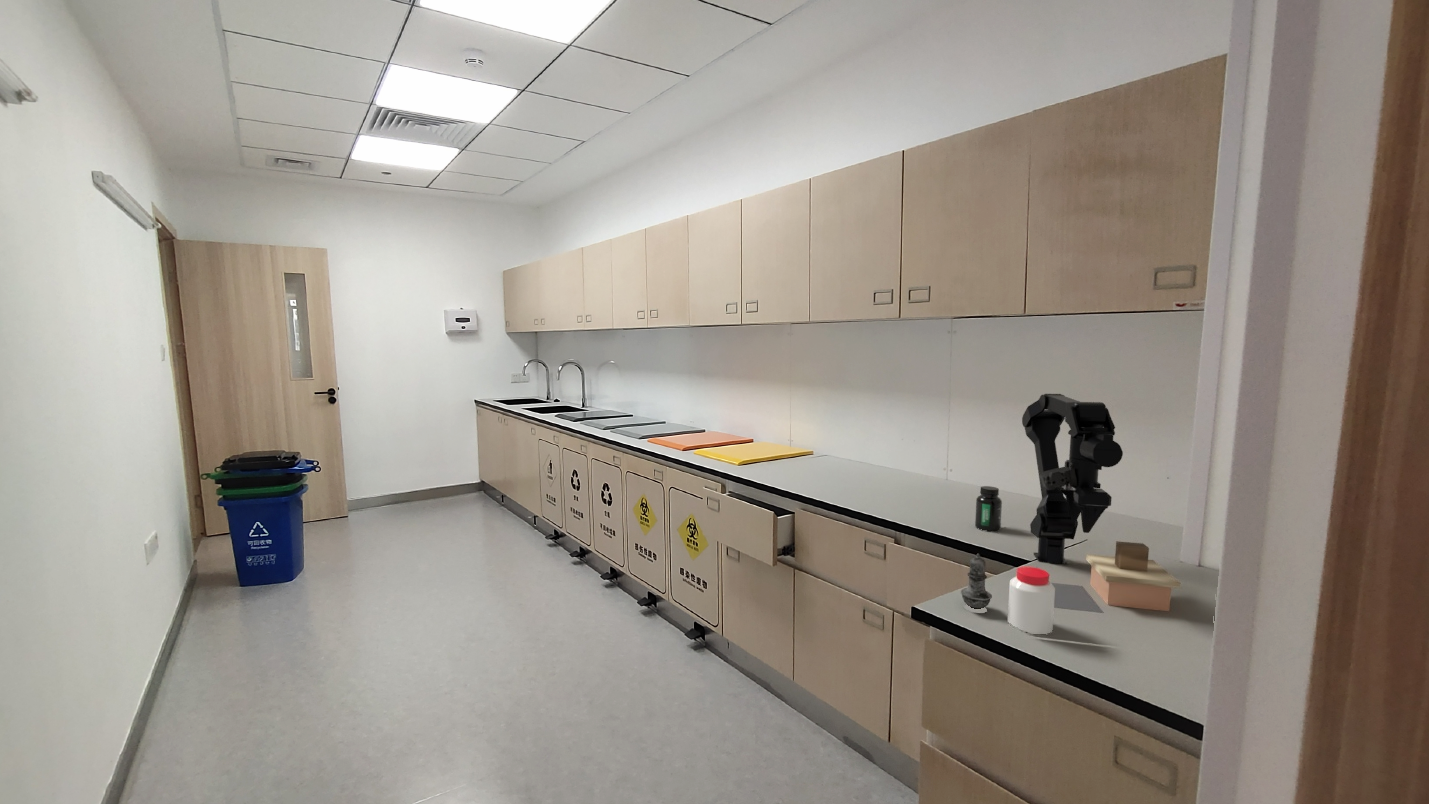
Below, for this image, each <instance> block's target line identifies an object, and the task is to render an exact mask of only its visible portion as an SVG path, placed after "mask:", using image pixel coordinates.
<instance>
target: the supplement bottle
mask: <svg viewBox="0 0 1429 804" xmlns="http://www.w3.org/2000/svg"><path fill="white" fill-rule="evenodd" d="M999 496H1000V491H999V488H998V487H996V486H990V485H984V486H980V492H979V495H978V496H977V497H976V499H975V517H974V518H975V519H974V520H975V521H974V525H975V526H974V527H975V528H976V529H978V528H979V529H978V530H980V529H982V530H981V531H983V530H987V531H986V532H991V531H994V532H999V531H1000V530H1001V525H1002V509H1003V501H1002V499H1001V498H1000V497H999ZM998 530H999V531H998Z"/></svg>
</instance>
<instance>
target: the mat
mask: <svg viewBox="0 0 1429 804" xmlns="http://www.w3.org/2000/svg"><path fill="white" fill-rule="evenodd" d="M1050 583H1051V584H1052V585H1053V586H1054V587H1055V602H1054V609H1064V610H1074V611H1083V612H1084V611H1085V612H1090V613H1091V612H1092V613H1093V612H1094V613H1101V614H1104V611H1103V610H1102V608H1100V606H1099V605H1098V603H1097V602H1096V601H1095V600H1094V598H1092V596H1091V595H1090V593H1089V592H1088V591H1087V589H1086V588H1085V587H1084V586H1083V585H1079V584H1077V585H1076V584H1067V583H1057V582H1056V583H1055V582H1050Z"/></svg>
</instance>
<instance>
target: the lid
mask: <svg viewBox="0 0 1429 804" xmlns="http://www.w3.org/2000/svg"><path fill="white" fill-rule="evenodd" d="M1149 550H1150V548H1149V546H1147V545H1146V544H1144V543H1143V542H1129V541H1128V542H1127V541H1115V555H1114V556H1110V555H1109V556H1108V555H1098V554H1097V555H1096V554H1087V553H1086V555H1085V560H1086V561H1087V562H1088V564H1090V566H1091V568H1092V567H1093V568H1094V569H1095V570H1096V571H1097V572H1098V573H1099V574H1100V575H1101V576H1102V578H1103V579H1104V580H1105V581H1107V582H1118V583H1128V584H1139V585H1149V586H1160V587H1170V588H1171V589H1172V588H1173V589H1181V582H1180V580H1178V579H1177V578H1176V577H1175V576H1173V575H1172V574H1171V573H1170V572H1168V571H1167V570H1166V569H1165V568H1164V567H1163V566H1161V565H1160V564H1158V562H1156V561H1155V560H1154V559H1149V552H1150V551H1149Z"/></svg>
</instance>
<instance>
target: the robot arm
mask: <svg viewBox="0 0 1429 804" xmlns="http://www.w3.org/2000/svg"><path fill="white" fill-rule="evenodd" d="M1021 420H1022V421H1021V422H1022V423H1021V424H1022V426H1023V427H1024V431H1025V435H1026V437H1027V438H1028V439H1029V440H1030V441H1031V442H1032V443H1033V444H1034V450H1035V458H1036V464H1037V471H1038V479H1039V485H1040V493H1041V500H1040V502H1039V504H1038V506H1037V507H1036V515H1035V516H1034V517H1033V519H1032V521H1031V522H1030V525H1029V526H1030V533H1031V535H1033V536H1034V537H1035V538H1037V539H1038V544H1037V545H1038V546H1037V552H1033V556H1034V557H1035V559H1036V560H1037V562H1038V563H1045V564H1046V563H1047V564H1054V565H1057V564H1058V565H1069V562H1068V561H1067V560H1066V558H1065V557H1064V556H1065V547H1066V546H1065V545H1066V542H1065V541H1066V540H1074V539H1075V536H1076V533H1077V529H1078V525H1079V521H1078V520H1079V519H1078V518H1079V516H1080V517H1081V528H1082V532H1083V533H1084V534H1085V533H1086V534H1089V533H1090V532H1091V530H1092V529H1093V528H1094V526H1095V525H1096V523H1097V521H1098V520H1099V518H1100V517H1101V515H1103V514H1104V512H1105V510H1106V509H1108V508H1109V507H1110V506H1112V499H1113V498H1112V496H1111V495H1110V494H1109V493H1108V492H1107V491H1106V490H1104V489H1102V488H1101V486H1102V484H1101V482H1099V481H1098V480H1099V471H1100V470H1101V471H1102V470H1103V469H1102V467H1103V468H1111V467H1115V466H1116V465H1118V464H1119V463H1120V461H1121V460H1122V458H1123V455H1124V454H1123V453H1124V452H1123V449H1122V446H1121V445H1120V444H1119V443H1118V442H1116V441H1115V440H1114V436H1115V434H1116V432H1115V429H1116V426H1115V424H1114V422H1113V419H1112V416H1111V415H1110V411H1109V409H1108V407H1107V406H1106V404H1105V403H1104V402H1101V401H1079V400H1076V399H1074V398H1072V397H1071V398H1070V397H1067V396H1066V395H1064V394H1062V393H1044V394H1041V395H1040V396H1039V398H1038V400H1036V401H1034V402H1033V403H1031V404H1030V405H1028V406H1027V407H1026V409H1025V410H1024V412H1023V414H1022V418H1021ZM1063 422H1065V423H1066V424H1067V425H1068V427H1069V430H1068V432H1067V433H1068V435H1070V437H1069V438H1070V439H1069V441H1070V442H1069V455H1068V457H1069V458H1068V459H1066V460H1065V461H1064V466H1061V467H1060V466H1059V459H1058V452H1057V446H1056V439H1057V437H1058V435H1059V433H1060V432H1061V425H1062V424H1063Z"/></svg>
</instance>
